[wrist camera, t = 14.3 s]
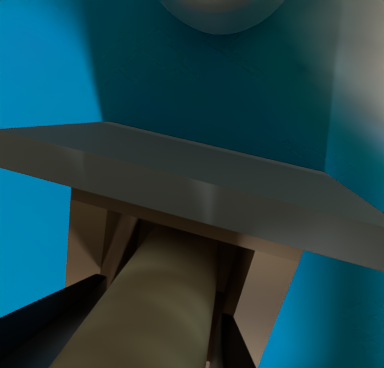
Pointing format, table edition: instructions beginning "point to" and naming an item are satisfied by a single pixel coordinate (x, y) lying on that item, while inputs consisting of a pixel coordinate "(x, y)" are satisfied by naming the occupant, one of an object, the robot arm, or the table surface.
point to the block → (230, 240)
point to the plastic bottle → (221, 13)
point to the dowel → (152, 308)
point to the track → (203, 185)
